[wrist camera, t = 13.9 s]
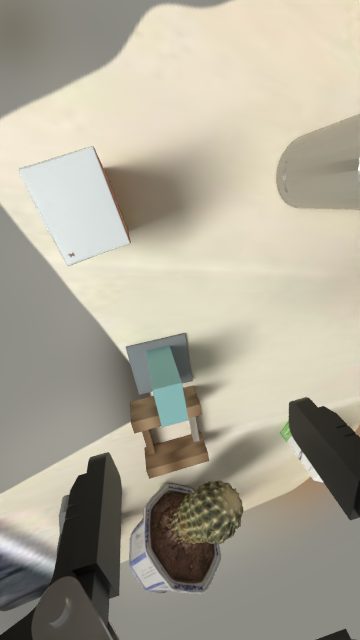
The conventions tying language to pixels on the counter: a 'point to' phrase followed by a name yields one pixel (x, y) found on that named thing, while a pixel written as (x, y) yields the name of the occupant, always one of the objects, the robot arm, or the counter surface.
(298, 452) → the ink box
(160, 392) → the teal box
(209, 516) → the potted plant
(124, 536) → the counter surface
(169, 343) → the mat
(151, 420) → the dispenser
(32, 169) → the small box
